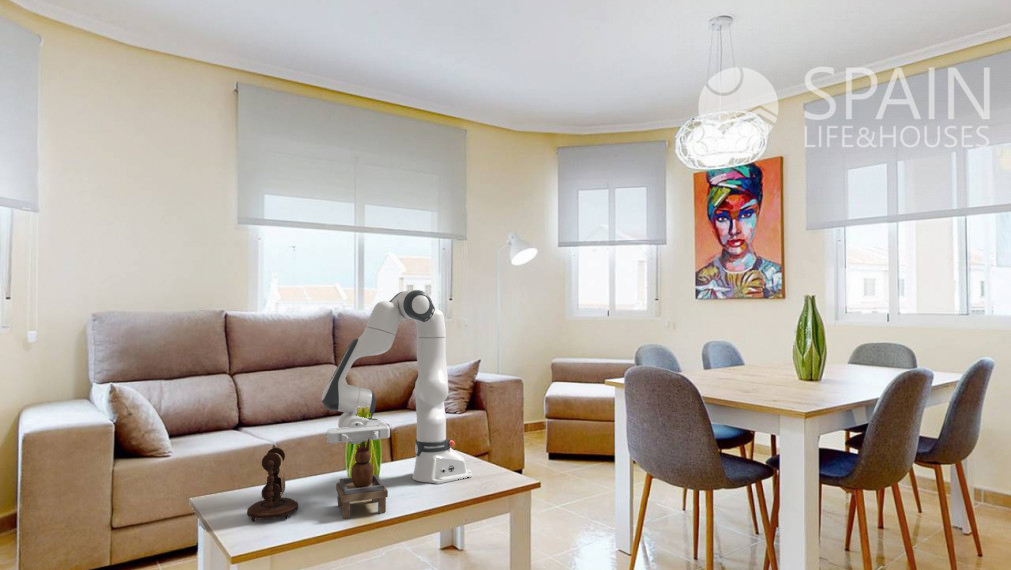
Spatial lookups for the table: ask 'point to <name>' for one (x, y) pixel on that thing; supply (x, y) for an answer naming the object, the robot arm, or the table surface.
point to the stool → (360, 494)
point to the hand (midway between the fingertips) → (362, 438)
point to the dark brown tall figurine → (273, 490)
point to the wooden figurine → (362, 467)
